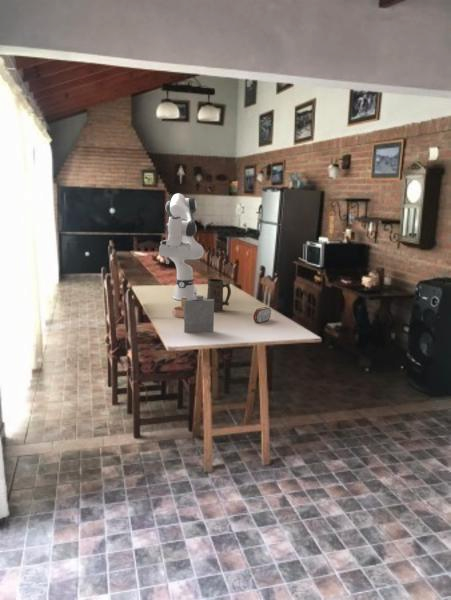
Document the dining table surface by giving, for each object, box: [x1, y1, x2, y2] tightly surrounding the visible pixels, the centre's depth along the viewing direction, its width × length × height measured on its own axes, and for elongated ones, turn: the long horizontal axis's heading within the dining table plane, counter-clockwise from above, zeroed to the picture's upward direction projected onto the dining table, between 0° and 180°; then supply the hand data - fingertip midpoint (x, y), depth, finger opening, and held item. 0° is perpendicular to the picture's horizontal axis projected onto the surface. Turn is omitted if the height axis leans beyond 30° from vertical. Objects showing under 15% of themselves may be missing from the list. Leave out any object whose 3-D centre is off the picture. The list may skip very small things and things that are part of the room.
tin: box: [252, 306, 272, 324], centre depth 294 cm, size 15×3×8 cm, turn 141°
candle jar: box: [171, 305, 185, 319], centre depth 304 cm, size 13×13×4 cm
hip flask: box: [183, 294, 215, 334], centre depth 266 cm, size 16×4×20 cm, turn 103°
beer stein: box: [206, 278, 232, 313], centre depth 319 cm, size 15×11×20 cm
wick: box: [180, 297, 187, 311], centre depth 303 cm, size 4×2×10 cm, turn 164°
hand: (174, 264), depth 311 cm, fingers open, 8 cm apart
